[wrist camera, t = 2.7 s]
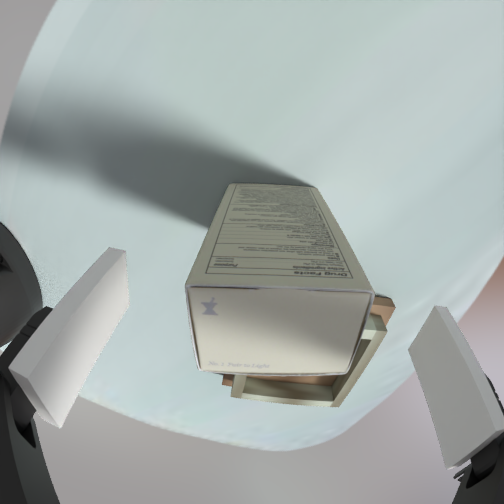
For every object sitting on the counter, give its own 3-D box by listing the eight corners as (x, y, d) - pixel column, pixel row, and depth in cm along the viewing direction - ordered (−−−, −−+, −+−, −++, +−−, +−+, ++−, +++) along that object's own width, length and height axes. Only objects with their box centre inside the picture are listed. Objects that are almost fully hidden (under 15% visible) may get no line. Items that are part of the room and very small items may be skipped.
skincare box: (228, 238, 22) (191, 373, 11) (228, 179, 20) (176, 282, 9) (315, 243, 21) (347, 380, 11) (322, 184, 19) (379, 292, 9)
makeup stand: (223, 375, 29) (219, 400, 27) (240, 274, 23) (236, 300, 20) (340, 388, 30) (343, 412, 27) (391, 298, 23) (403, 323, 21)
